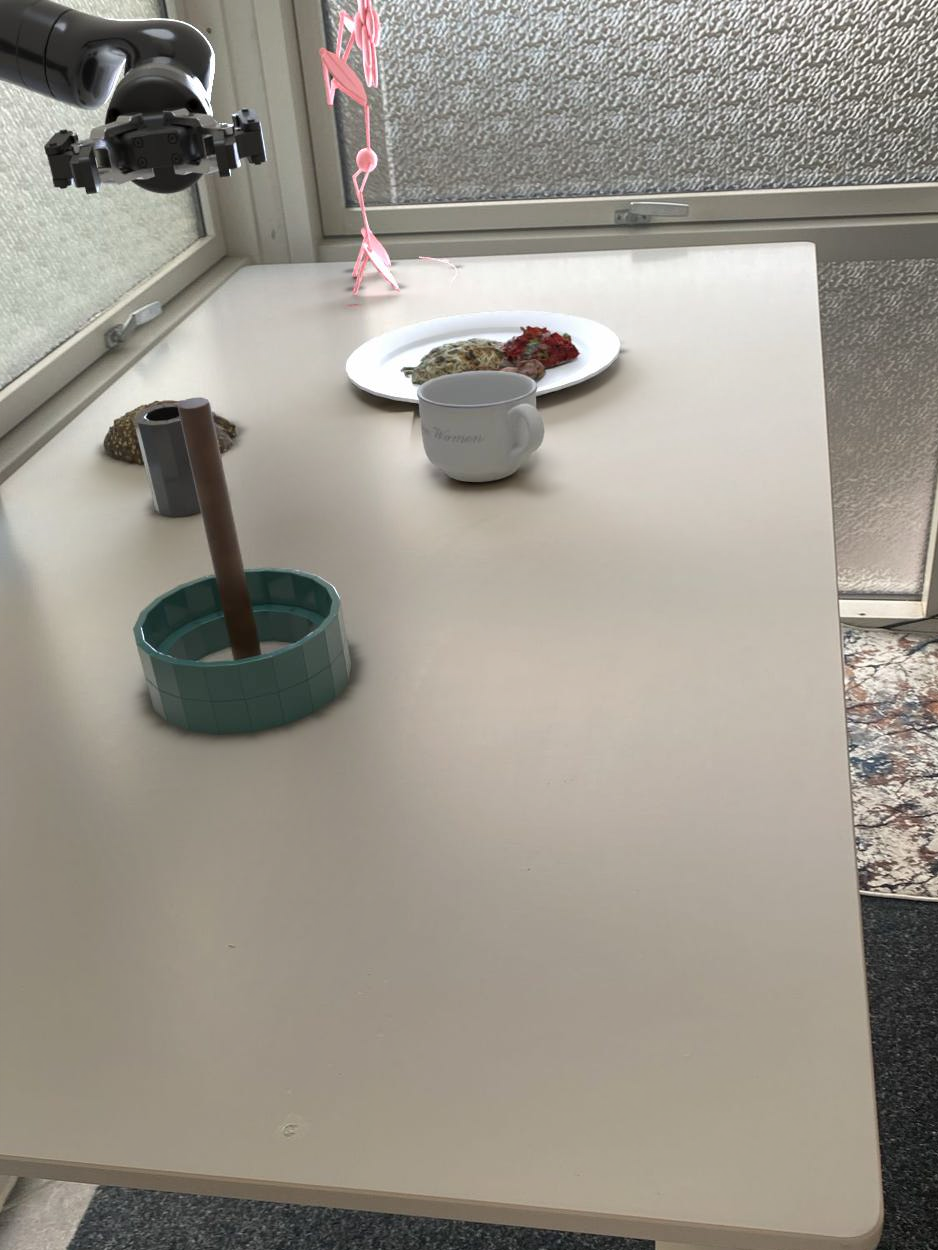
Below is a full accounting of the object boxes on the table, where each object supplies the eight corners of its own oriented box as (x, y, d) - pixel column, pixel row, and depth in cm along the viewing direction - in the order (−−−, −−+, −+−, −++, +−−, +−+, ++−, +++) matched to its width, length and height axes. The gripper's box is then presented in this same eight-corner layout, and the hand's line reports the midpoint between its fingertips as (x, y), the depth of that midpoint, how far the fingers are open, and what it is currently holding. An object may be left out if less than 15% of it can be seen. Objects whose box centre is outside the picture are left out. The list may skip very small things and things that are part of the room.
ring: (134, 749, 90) (112, 672, 87) (174, 646, 102) (156, 574, 98) (342, 736, 90) (328, 658, 86) (359, 634, 101) (348, 561, 97)
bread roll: (91, 455, 136) (78, 406, 133) (190, 417, 142) (180, 370, 139) (162, 482, 128) (150, 432, 125) (264, 441, 135) (254, 392, 131)
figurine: (347, 314, 168) (301, -15, 146) (347, 262, 188) (307, -34, 167) (468, 301, 168) (440, -30, 147) (454, 250, 188) (428, -47, 167)
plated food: (294, 381, 149) (289, 350, 147) (493, 312, 163) (491, 283, 161) (471, 441, 130) (468, 407, 128) (677, 357, 145) (678, 325, 143)
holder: (152, 525, 120) (128, 427, 115) (164, 500, 125) (141, 405, 119) (211, 520, 120) (189, 422, 114) (221, 496, 124) (200, 400, 119)
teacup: (407, 466, 126) (396, 382, 121) (507, 439, 130) (501, 355, 125) (473, 515, 116) (465, 425, 111) (580, 484, 120) (577, 395, 115)
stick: (236, 688, 94) (174, 409, 82) (241, 674, 96) (180, 398, 84) (264, 687, 94) (206, 407, 82) (268, 672, 96) (211, 396, 84)
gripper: (267, 170, 100) (276, 217, 88) (76, 193, 99) (57, 245, 86) (248, 55, 96) (255, 87, 83) (48, 78, 95) (24, 114, 82)
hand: (154, 168), depth 85 cm, fingers open, 8 cm apart
